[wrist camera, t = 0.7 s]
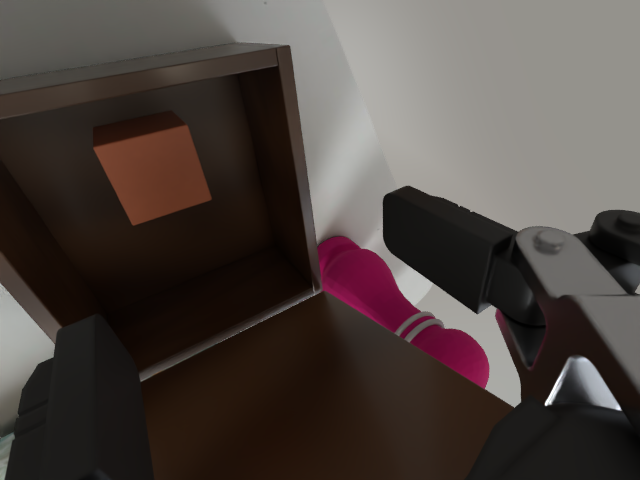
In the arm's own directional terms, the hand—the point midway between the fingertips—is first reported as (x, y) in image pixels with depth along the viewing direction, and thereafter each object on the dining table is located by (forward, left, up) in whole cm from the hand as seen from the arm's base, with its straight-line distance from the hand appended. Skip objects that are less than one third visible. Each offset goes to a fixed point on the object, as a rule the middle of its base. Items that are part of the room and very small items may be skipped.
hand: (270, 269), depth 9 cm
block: (+1, -1, -17) cm, 17 cm away
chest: (+4, -1, -18) cm, 18 cm away
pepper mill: (+17, +12, -18) cm, 27 cm away
